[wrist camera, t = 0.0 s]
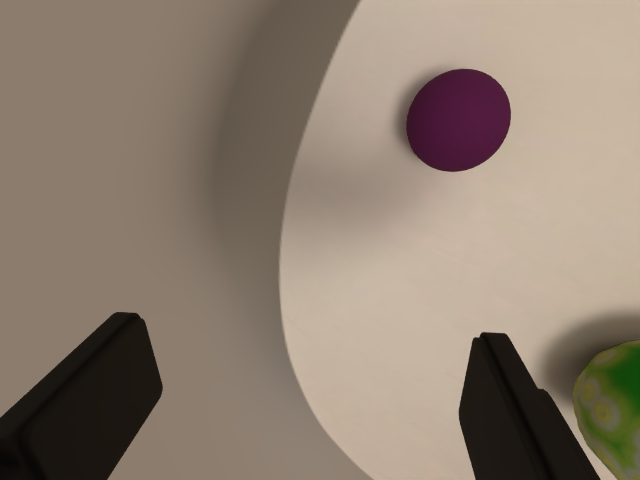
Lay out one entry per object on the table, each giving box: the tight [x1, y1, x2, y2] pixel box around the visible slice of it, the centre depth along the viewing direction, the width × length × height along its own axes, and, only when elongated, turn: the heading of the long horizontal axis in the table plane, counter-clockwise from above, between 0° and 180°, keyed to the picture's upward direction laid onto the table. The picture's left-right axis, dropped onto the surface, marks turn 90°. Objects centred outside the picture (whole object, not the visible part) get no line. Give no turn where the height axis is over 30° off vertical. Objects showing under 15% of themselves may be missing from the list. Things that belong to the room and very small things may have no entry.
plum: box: [406, 69, 511, 172], centre depth 19 cm, size 5×5×5 cm
